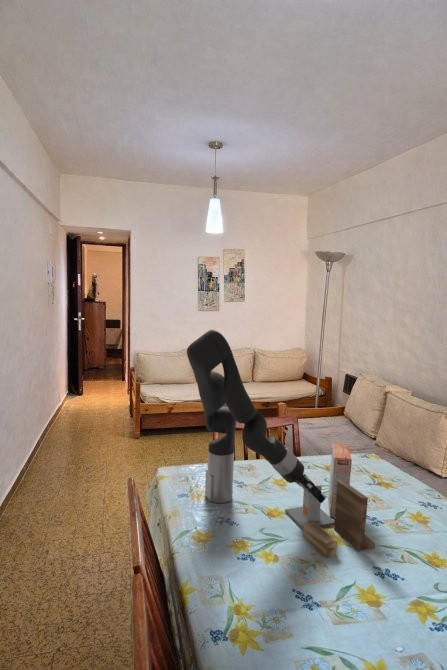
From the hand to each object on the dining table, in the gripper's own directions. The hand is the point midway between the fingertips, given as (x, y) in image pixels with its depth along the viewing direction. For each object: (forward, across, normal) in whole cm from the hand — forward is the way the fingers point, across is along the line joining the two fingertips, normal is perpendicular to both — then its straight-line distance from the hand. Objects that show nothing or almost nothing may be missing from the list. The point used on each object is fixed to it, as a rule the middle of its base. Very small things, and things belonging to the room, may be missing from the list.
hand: (315, 494), depth 141 cm
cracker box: (+14, +4, -2) cm, 15 cm away
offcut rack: (+6, -13, +6) cm, 16 cm away
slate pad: (+5, 0, +7) cm, 8 cm away
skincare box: (+4, 0, +6) cm, 8 cm away
